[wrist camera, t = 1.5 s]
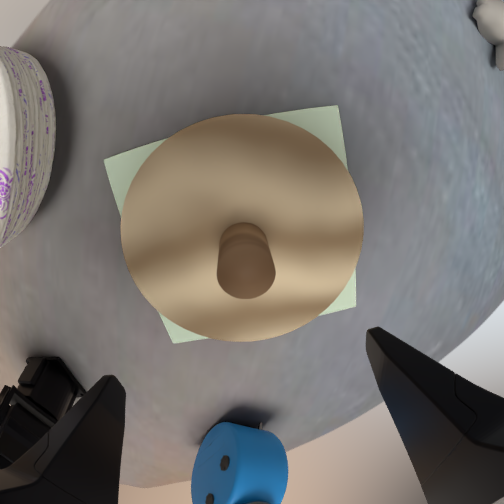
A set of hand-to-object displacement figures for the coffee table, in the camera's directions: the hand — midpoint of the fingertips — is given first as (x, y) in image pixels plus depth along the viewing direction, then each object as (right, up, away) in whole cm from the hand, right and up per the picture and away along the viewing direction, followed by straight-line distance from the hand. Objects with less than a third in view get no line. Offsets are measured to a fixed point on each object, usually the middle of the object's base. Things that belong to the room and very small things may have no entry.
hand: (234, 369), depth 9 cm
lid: (0, +5, +11) cm, 12 cm away
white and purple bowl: (-19, +13, +7) cm, 24 cm away
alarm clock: (-2, -19, +23) cm, 29 cm away
